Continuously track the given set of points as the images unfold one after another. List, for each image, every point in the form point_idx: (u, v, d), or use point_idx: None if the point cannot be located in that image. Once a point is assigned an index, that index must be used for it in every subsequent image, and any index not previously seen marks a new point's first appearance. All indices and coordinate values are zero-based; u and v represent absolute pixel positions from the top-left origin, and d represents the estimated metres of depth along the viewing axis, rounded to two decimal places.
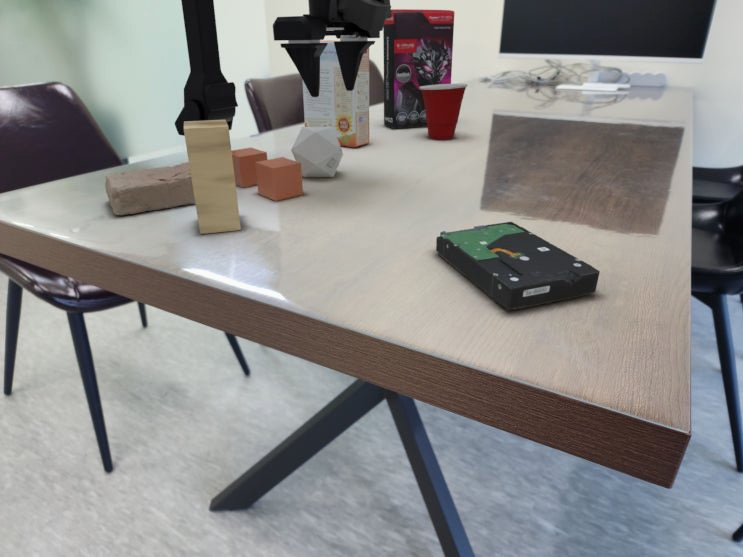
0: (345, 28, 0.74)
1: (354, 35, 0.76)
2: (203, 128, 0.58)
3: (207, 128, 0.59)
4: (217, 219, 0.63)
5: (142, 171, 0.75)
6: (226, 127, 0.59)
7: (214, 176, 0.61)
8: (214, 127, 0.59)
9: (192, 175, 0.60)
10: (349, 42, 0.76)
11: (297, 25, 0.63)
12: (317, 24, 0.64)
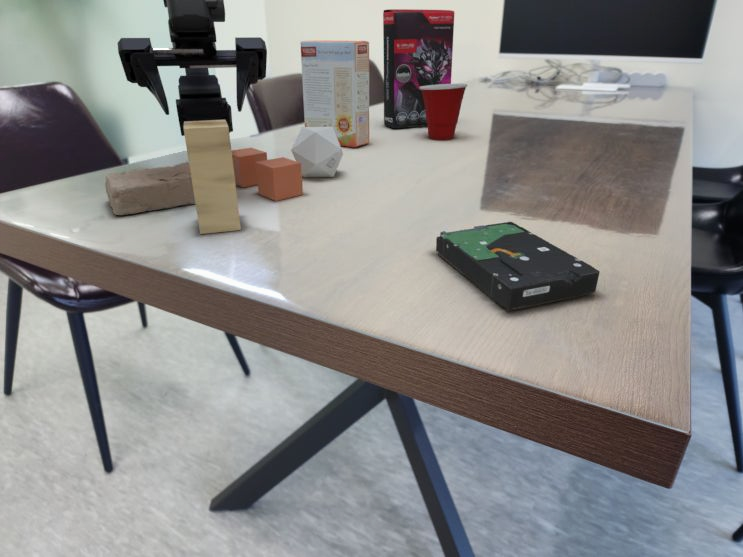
0: (219, 54, 0.70)
1: (236, 59, 0.70)
2: (203, 128, 0.58)
3: (207, 128, 0.59)
4: (217, 219, 0.63)
5: (142, 171, 0.75)
6: (226, 127, 0.59)
7: (214, 176, 0.61)
8: (214, 127, 0.59)
9: (192, 175, 0.60)
10: None
11: None
12: (133, 38, 0.64)
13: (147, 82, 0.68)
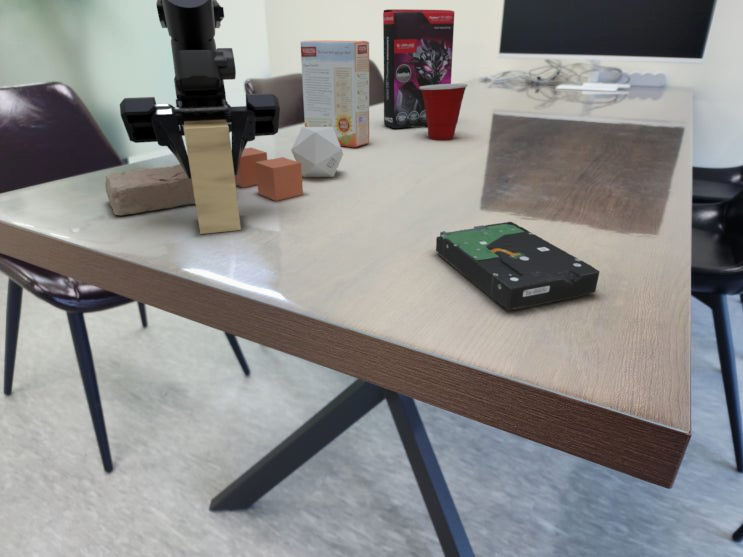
0: (228, 111, 0.65)
1: None
2: (203, 128, 0.58)
3: (207, 128, 0.59)
4: (218, 219, 0.63)
5: (142, 171, 0.75)
6: (226, 127, 0.59)
7: (214, 176, 0.61)
8: (214, 127, 0.59)
9: (192, 175, 0.60)
10: None
11: None
12: (136, 99, 0.60)
13: (168, 141, 0.64)
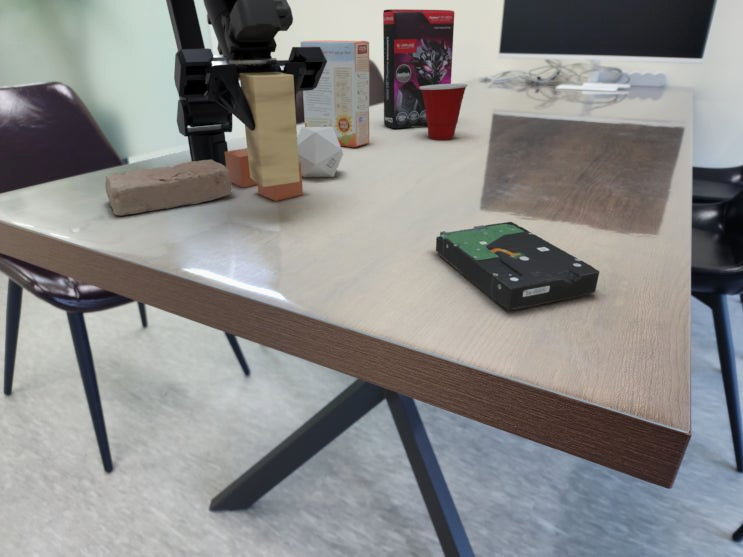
0: (275, 65, 0.65)
1: (280, 70, 0.65)
2: (271, 76, 0.59)
3: (274, 77, 0.59)
4: (280, 171, 0.64)
5: (142, 171, 0.75)
6: (291, 76, 0.60)
7: (278, 126, 0.62)
8: (280, 76, 0.59)
9: (259, 125, 0.60)
10: None
11: (176, 61, 0.59)
12: (194, 49, 0.58)
13: (218, 96, 0.63)
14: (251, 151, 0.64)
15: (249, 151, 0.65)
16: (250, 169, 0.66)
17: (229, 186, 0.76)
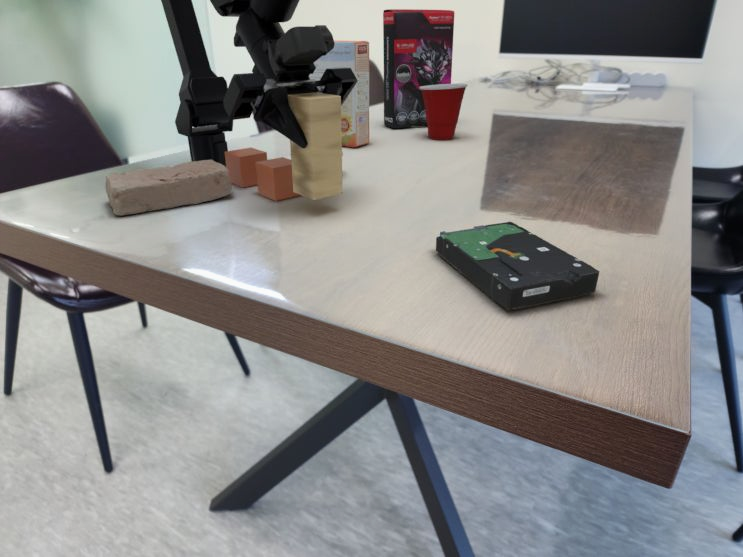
0: (312, 85, 0.70)
1: (317, 90, 0.70)
2: (323, 98, 0.64)
3: (326, 98, 0.64)
4: (327, 184, 0.69)
5: (142, 171, 0.75)
6: (339, 97, 0.65)
7: (327, 143, 0.66)
8: (330, 97, 0.64)
9: (312, 143, 0.65)
10: None
11: (231, 85, 0.62)
12: (249, 74, 0.62)
13: (265, 116, 0.67)
14: (298, 167, 0.69)
15: (295, 167, 0.69)
16: (295, 184, 0.70)
17: (229, 186, 0.76)
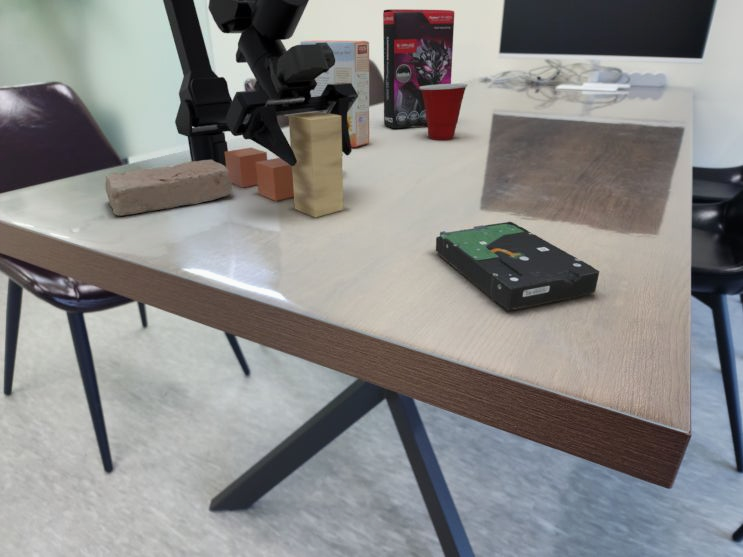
0: (313, 101, 0.71)
1: (329, 104, 0.72)
2: (324, 118, 0.65)
3: (327, 118, 0.65)
4: (328, 202, 0.70)
5: (142, 171, 0.75)
6: (340, 116, 0.66)
7: (328, 162, 0.68)
8: (331, 117, 0.65)
9: (313, 162, 0.66)
10: None
11: (234, 103, 0.63)
12: (252, 92, 0.63)
13: (254, 134, 0.66)
14: (299, 185, 0.70)
15: (296, 185, 0.70)
16: (296, 201, 0.71)
17: (229, 186, 0.76)
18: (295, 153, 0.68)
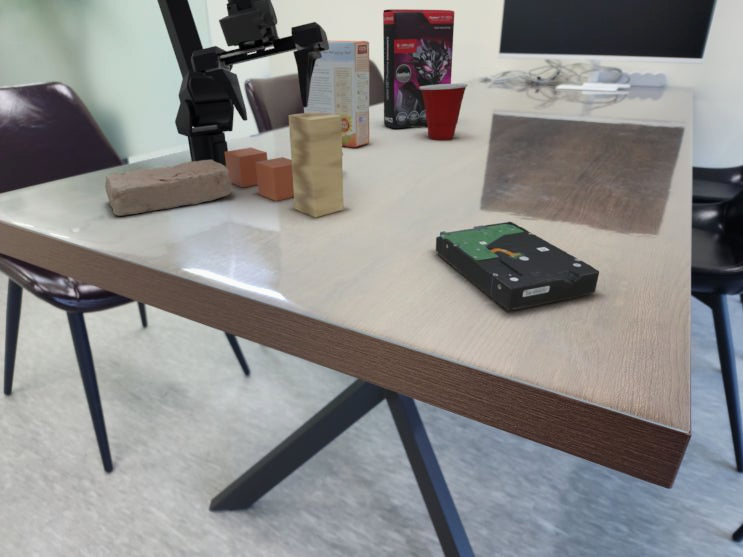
0: (280, 44, 0.70)
1: (296, 48, 0.70)
2: (324, 118, 0.65)
3: (327, 118, 0.65)
4: (328, 202, 0.70)
5: (142, 171, 0.75)
6: (340, 116, 0.66)
7: (328, 162, 0.68)
8: (331, 117, 0.65)
9: (313, 162, 0.66)
10: None
11: None
12: (202, 55, 0.69)
13: None
14: (299, 185, 0.70)
15: (296, 185, 0.70)
16: (296, 201, 0.71)
17: (229, 186, 0.76)
18: (295, 153, 0.68)
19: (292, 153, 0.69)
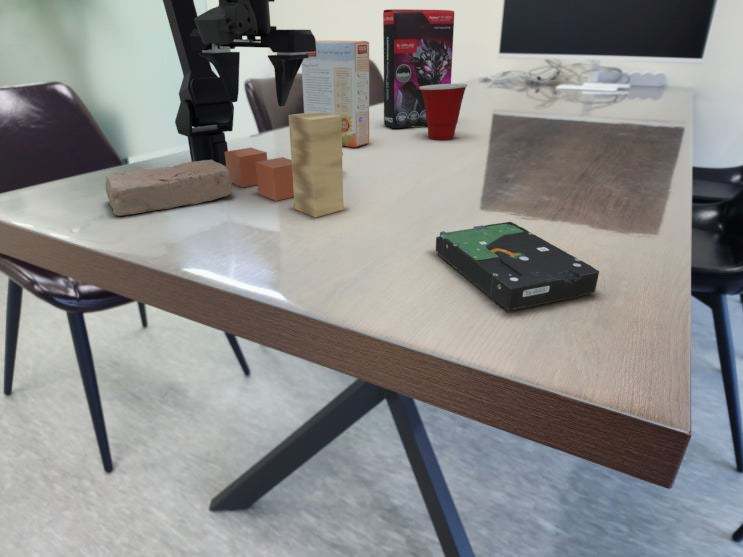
0: (266, 40, 0.70)
1: None
2: (324, 118, 0.65)
3: (327, 118, 0.65)
4: (328, 202, 0.70)
5: (142, 171, 0.75)
6: (340, 116, 0.66)
7: (328, 162, 0.68)
8: (331, 117, 0.65)
9: (313, 162, 0.66)
10: None
11: None
12: (197, 36, 0.73)
13: None
14: (299, 185, 0.70)
15: (296, 185, 0.70)
16: (296, 201, 0.71)
17: (229, 186, 0.76)
18: (295, 153, 0.68)
19: (292, 153, 0.69)
